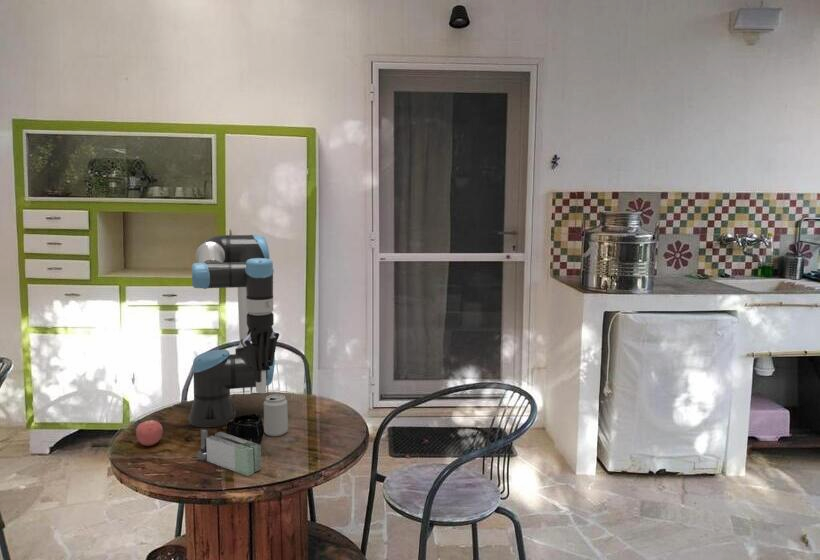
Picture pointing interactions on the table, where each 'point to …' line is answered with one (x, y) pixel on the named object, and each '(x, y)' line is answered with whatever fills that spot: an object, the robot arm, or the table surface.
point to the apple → (149, 432)
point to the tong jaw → (247, 443)
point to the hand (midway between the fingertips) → (261, 391)
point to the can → (275, 415)
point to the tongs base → (226, 454)
